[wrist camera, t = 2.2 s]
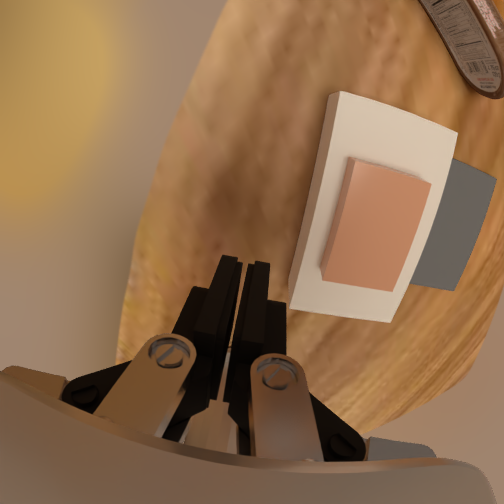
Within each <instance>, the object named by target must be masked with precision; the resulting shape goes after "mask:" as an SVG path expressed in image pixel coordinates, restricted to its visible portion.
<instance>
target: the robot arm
mask: <svg viewBox="0 0 504 504" xmlns="http://www.w3.org/2000/svg"><path fill="white" fill-rule="evenodd" d="M237 260H238V257H232V256H227V255H222V257H221V259H220V262H219V264H218V267H217V270H216V272H215V275H214V277H213V280H212V283H211V285H210V288H209V289H207V288H202V287H197V286H193V288H192V289H191V292H190V294H189V296H188V298H187V300H186V302H185V305H184V307H183V309H182V311H181V313H180V316H179V318H178V320H177V322H176V324H175V327H174V329H173V331H172V333H171V334H160V335H156V336H154V337H152V338H150V339H149V340H148V341H147V342H146V343H145V344H144V346H143V347H142V348H141V350H140V351H139V352H138V354H137V355H136V356H135V358H134V359H133V360H131V361H128V362H125V363H122V364H119V365H116V366H113V367H110V368H106V369H103V370H100V371H97V372H94V373H91V374H87V375H84V376H81V377H78V378H76V379H74V380H72V381H68V380H67V379H66V377H63V376H59V375H53V374H49V373H45V372H40V371H36V370H32V369H28V368H24V367H20V366H10V367H6V368H5V369H4V370H2V371H0V504H497V503H496V500H495V496H494V493H493V490H492V487H491V485H490V483H489V481H488V479H487V477H486V476H485V474H484V473H483V472H482V471H481V470H480V469H479V468H477V467H475V466H473V465H471V464H469V463H466V462H462V461H458V460H453V459H447V458H436V455H435V453H434V452H433V450H432V449H430V448H429V447H428V446H425V445H422V444H415V443H407V442H400V441H393V440H387V439H381V438H375V437H370V438H369V439H364V438H362V437H361V436H360V435H359V434H358V432H356V431H355V430H354V429H353V428H352V427H350V426H349V425H348V424H347V423H345V422H344V421H343V420H342V419H340V418H339V417H338V416H337V415H336V414H334V413H333V412H332V411H331V410H330V409H328V408H327V407H326V406H325V405H324V404H322V403H321V402H320V401H319V400H318V399H317V398H315V397H314V396H313V395H312V394H311V393H310V392H309V390H308V386H307V381H306V377H305V373H304V371H303V369H302V367H301V366H300V365H299V363H298V362H297V361H295V360H294V359H292V358H291V357H288V356H286V303H284V302H278V301H272V300H267V298H268V286H269V273H270V263H266V262H260V261H255V264H248V267H247V272H246V277H245V282H244V286H243V291H242V296H241V301H240V305H239V310H238V315H237V320H236V324H235V329H234V334H233V340H232V345H231V348H228V346H229V341H230V337H231V332H232V328H233V322H234V316H235V310H236V303H237V297H238V291H239V284H240V278H241V272H242V266H243V262H237ZM184 439H185V441H184ZM183 442H184V444H183Z"/></svg>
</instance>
